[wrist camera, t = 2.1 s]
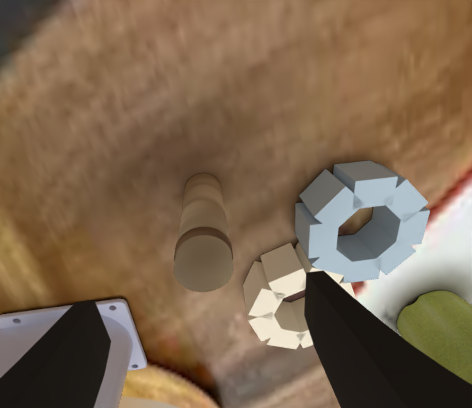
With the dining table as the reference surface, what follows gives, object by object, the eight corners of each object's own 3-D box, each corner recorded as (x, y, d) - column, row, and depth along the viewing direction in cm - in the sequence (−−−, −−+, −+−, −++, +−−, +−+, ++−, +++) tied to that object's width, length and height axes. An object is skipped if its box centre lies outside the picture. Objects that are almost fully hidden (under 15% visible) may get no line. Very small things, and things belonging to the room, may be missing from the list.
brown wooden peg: (187, 209, 19) (178, 296, 12) (181, 174, 18) (167, 248, 11) (224, 205, 19) (236, 288, 12) (220, 170, 18) (231, 240, 11)
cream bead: (265, 328, 25) (273, 360, 22) (229, 268, 22) (233, 297, 19) (347, 295, 24) (364, 324, 22) (322, 228, 21) (339, 252, 18)
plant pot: (386, 282, 24) (471, 385, 16) (490, 266, 25) (621, 359, 17) (372, 353, 28) (435, 462, 21) (461, 339, 29) (555, 440, 21)
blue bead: (294, 260, 22) (307, 288, 19) (296, 168, 19) (311, 186, 16) (388, 248, 23) (413, 273, 20) (407, 156, 19) (440, 171, 16)
